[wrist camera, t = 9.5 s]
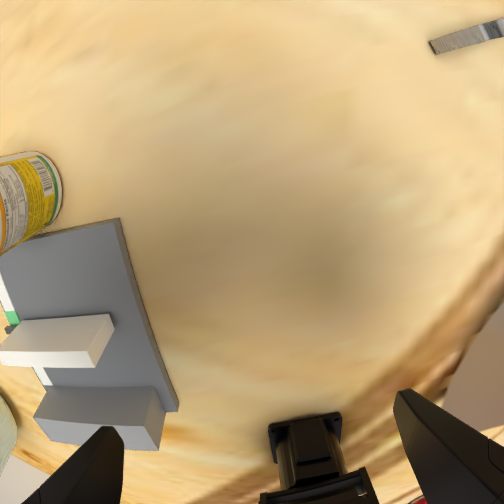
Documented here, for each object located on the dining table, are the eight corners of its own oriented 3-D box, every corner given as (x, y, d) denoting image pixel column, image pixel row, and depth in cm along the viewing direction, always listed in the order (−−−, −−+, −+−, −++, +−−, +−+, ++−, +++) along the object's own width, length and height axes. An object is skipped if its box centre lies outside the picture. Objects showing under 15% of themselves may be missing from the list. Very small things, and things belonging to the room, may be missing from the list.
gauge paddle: (114, 329, 19) (95, 367, 16) (11, 334, 19) (-13, 363, 16) (108, 313, 19) (86, 350, 15) (5, 321, 19) (-21, 350, 15)
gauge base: (179, 403, 24) (171, 450, 19) (61, 401, 24) (42, 439, 19) (119, 217, 18) (84, 245, 14) (-11, 247, 18) (-51, 274, 14)
